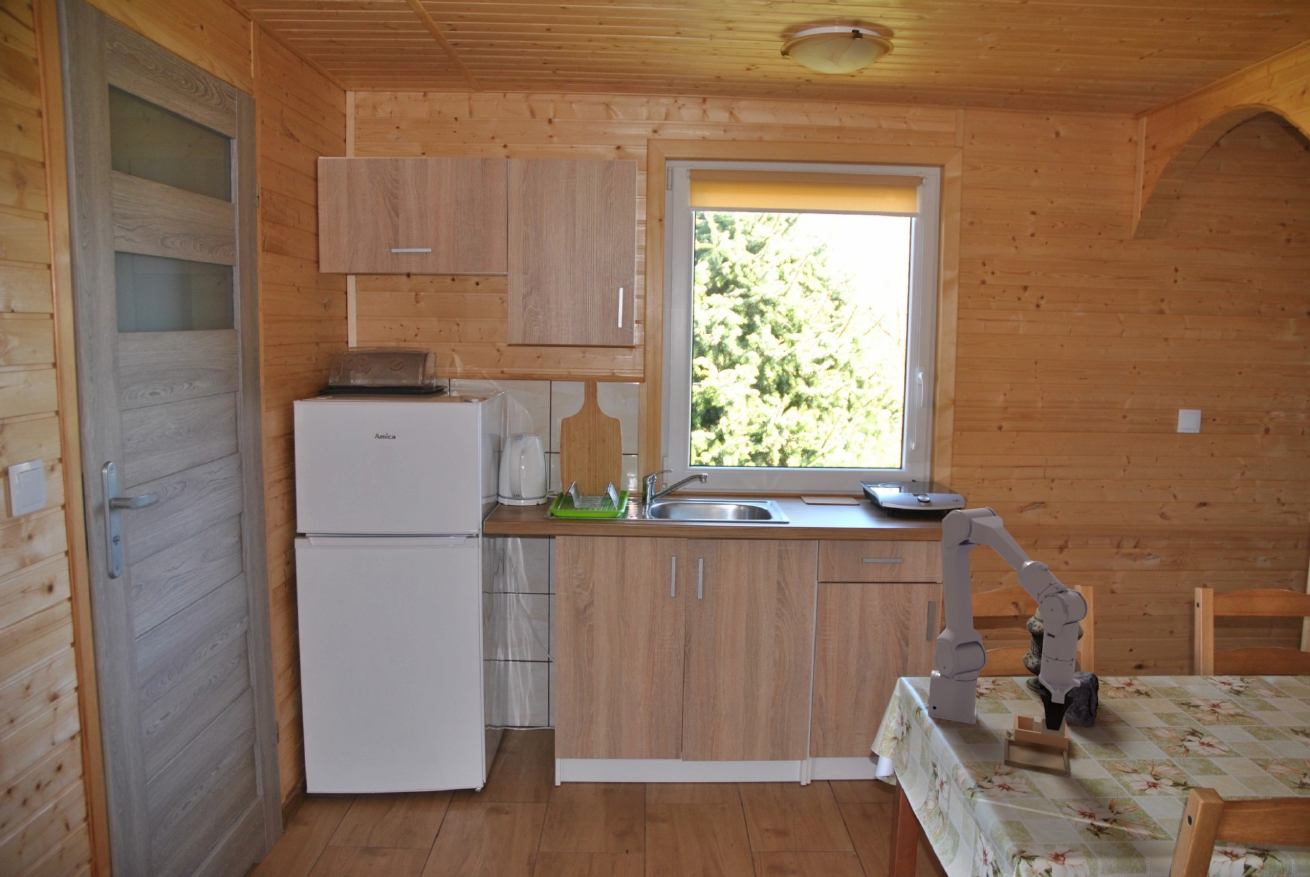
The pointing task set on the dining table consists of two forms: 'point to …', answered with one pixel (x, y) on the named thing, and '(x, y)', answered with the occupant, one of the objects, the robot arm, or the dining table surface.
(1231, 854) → the dining table surface
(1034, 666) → the apothecary jar
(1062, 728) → the stone beige
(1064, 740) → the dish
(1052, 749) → the tray
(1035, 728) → the stone grey
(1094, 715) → the rock
